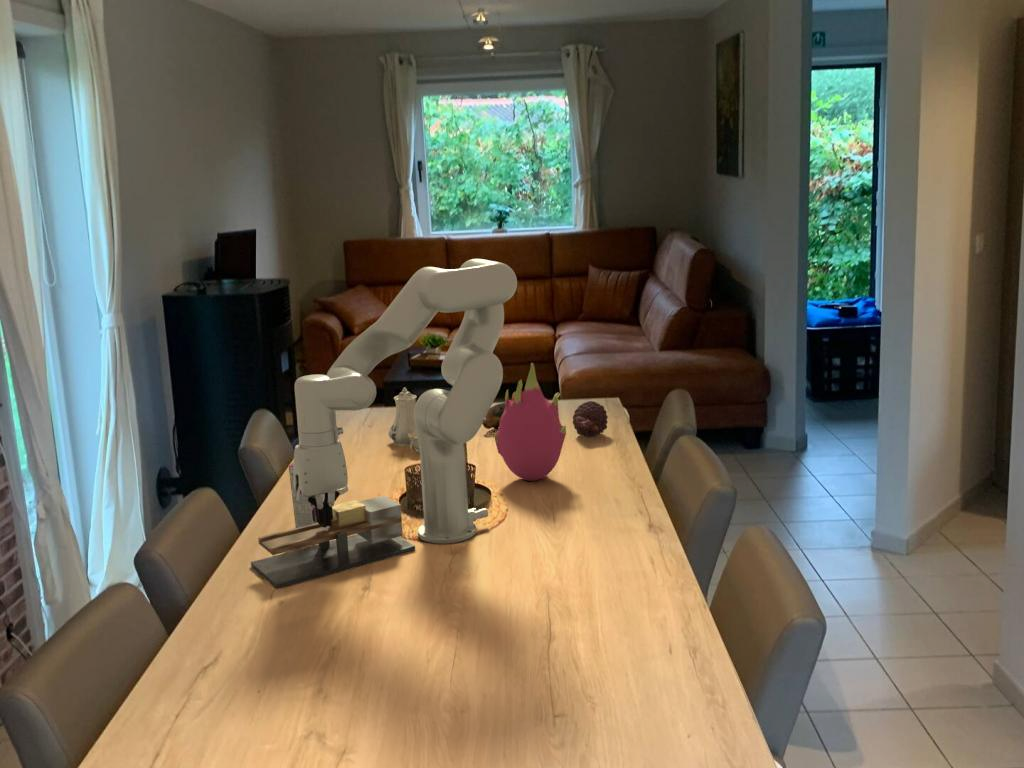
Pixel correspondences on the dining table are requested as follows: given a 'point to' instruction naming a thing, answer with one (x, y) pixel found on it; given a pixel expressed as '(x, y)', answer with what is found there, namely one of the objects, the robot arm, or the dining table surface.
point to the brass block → (348, 514)
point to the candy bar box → (302, 507)
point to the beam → (378, 528)
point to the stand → (327, 559)
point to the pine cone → (590, 419)
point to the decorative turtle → (494, 416)
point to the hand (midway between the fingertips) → (324, 524)
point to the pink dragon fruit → (530, 431)
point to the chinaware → (405, 422)
